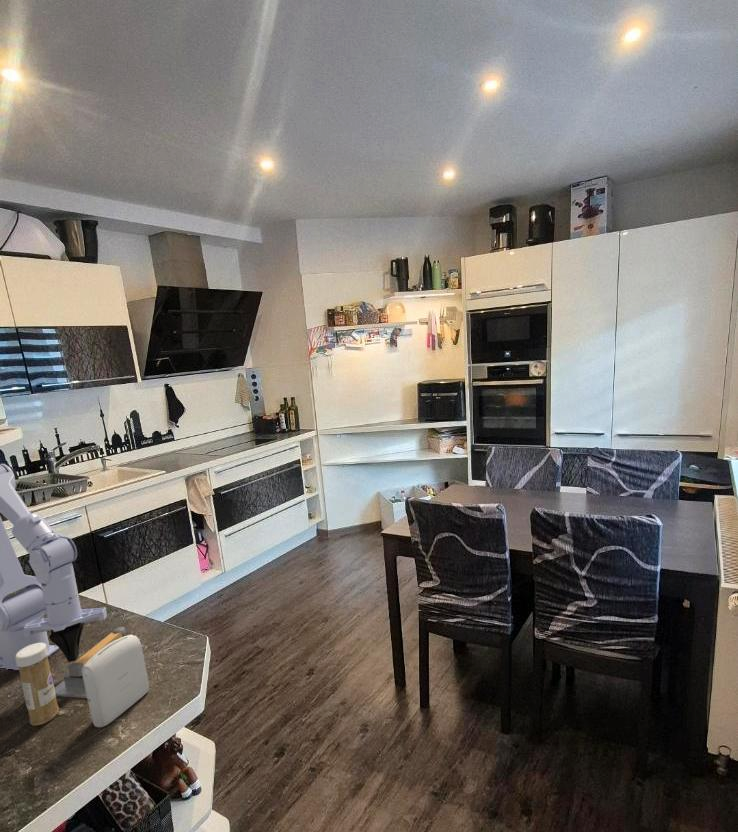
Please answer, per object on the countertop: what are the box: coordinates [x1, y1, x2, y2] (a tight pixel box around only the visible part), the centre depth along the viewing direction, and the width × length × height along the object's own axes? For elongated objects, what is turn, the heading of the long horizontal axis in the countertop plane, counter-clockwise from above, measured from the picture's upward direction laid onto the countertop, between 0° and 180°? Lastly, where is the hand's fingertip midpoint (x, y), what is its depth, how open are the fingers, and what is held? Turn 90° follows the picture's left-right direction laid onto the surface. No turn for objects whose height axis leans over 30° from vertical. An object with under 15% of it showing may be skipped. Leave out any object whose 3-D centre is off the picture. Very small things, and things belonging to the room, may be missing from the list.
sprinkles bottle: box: [15, 643, 60, 727], centre depth 83 cm, size 5×5×13 cm
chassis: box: [54, 644, 145, 699], centre depth 96 cm, size 10×16×3 cm, turn 168°
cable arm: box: [67, 626, 127, 677], centre depth 96 cm, size 13×2×2 cm, turn 168°
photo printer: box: [82, 634, 150, 728], centre depth 83 cm, size 10×4×12 cm, turn 154°
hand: (73, 658), depth 95 cm, fingers closed
